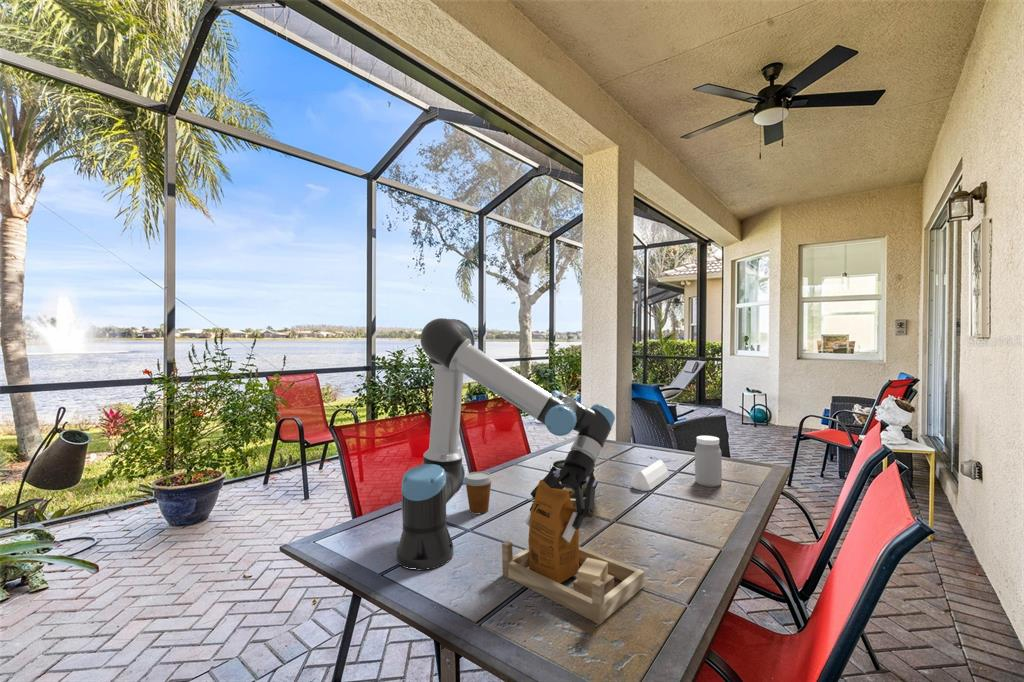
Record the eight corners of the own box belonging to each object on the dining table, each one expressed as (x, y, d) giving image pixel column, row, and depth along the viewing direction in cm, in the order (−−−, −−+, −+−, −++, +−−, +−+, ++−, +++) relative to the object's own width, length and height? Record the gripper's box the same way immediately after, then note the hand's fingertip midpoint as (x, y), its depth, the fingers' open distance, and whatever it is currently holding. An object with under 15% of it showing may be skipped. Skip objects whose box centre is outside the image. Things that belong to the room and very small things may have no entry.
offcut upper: (599, 589, 101) (599, 576, 101) (577, 584, 103) (577, 571, 103) (607, 574, 107) (607, 562, 107) (587, 569, 109) (587, 557, 109)
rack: (599, 624, 93) (599, 586, 92) (502, 575, 112) (502, 543, 112) (645, 586, 106) (644, 552, 106) (551, 548, 126) (551, 519, 126)
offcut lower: (595, 604, 100) (595, 591, 100) (573, 594, 104) (573, 581, 104) (614, 589, 106) (614, 576, 106) (592, 580, 110) (592, 567, 110)
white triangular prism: (648, 463, 192) (624, 478, 174) (663, 457, 189) (640, 471, 170) (657, 480, 190) (634, 497, 171) (672, 474, 186) (649, 491, 168)
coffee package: (552, 555, 121) (551, 474, 121) (585, 576, 111) (584, 487, 111) (522, 567, 116) (521, 481, 115) (553, 589, 105) (552, 496, 105)
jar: (689, 481, 179) (688, 436, 179) (707, 478, 184) (706, 434, 183) (709, 489, 171) (709, 441, 170) (727, 485, 175) (727, 438, 174)
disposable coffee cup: (480, 518, 147) (479, 481, 147) (459, 512, 153) (458, 476, 153) (498, 509, 155) (498, 474, 155) (477, 503, 161) (477, 469, 160)
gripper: (626, 473, 116) (593, 555, 105) (554, 456, 132) (519, 526, 121) (615, 456, 112) (579, 540, 101) (542, 441, 128) (504, 512, 117)
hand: (546, 532), depth 111 cm, fingers closed on coffee package, 11 cm apart
